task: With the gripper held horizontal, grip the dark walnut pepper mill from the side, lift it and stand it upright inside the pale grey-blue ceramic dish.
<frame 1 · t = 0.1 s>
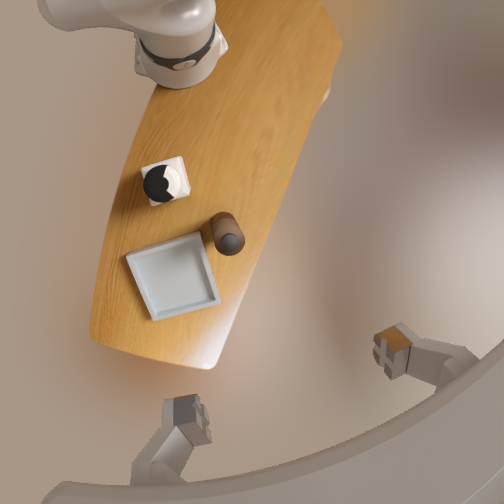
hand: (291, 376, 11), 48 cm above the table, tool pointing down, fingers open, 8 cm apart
walnut pepper mill: (223, 224, 58), on the table
pale dish: (175, 276, 59), on the table
medicine bottle: (169, 178, 53), on the table
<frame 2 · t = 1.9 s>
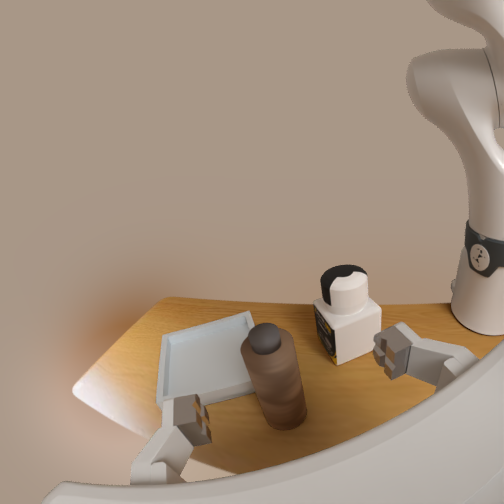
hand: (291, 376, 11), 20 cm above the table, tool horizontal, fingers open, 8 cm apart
walnut pepper mill: (286, 413, 30), on the table
pale dish: (212, 364, 41), on the table
medicine bottle: (348, 343, 38), on the table
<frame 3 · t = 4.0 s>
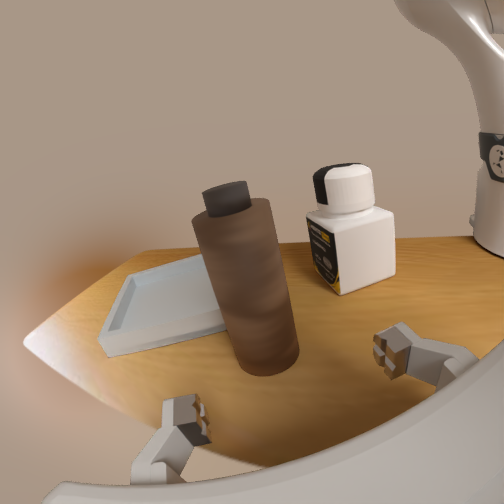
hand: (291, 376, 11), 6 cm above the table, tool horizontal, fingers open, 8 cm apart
walnut pepper mill: (268, 353, 22), on the table
pale dish: (180, 302, 33), on the table
medicine bottle: (353, 274, 31), on the table
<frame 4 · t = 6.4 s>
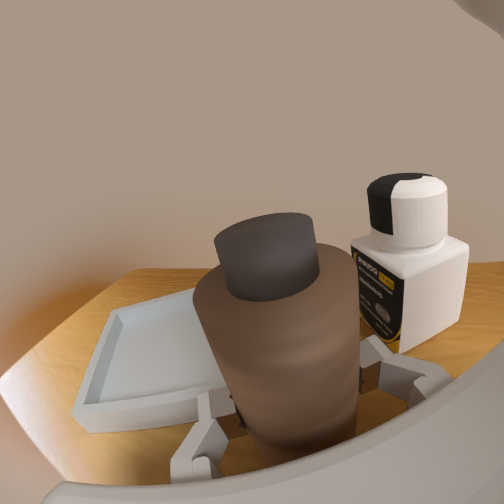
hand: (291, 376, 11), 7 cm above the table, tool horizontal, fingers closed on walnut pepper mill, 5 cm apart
walnut pepper mill: (309, 454, 13), on the table, touching gripper
pale dish: (178, 356, 24), on the table
medicine bottle: (406, 319, 21), on the table
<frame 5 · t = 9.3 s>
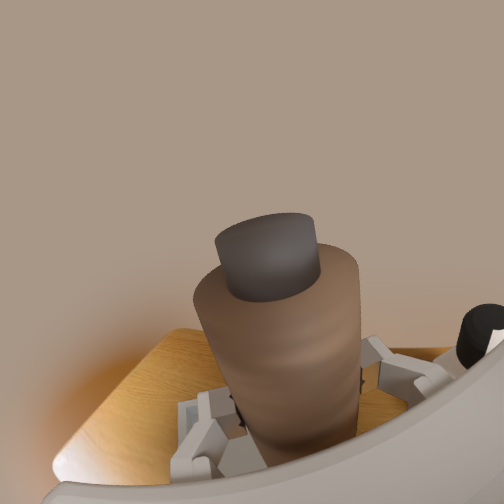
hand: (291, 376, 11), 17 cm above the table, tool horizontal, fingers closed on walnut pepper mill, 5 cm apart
walnut pepper mill: (310, 455, 13), point 10 cm above the table, touching gripper
pale dish: (264, 455, 22), on the table
medicine bottle: (459, 409, 19), on the table
when the fingers open (9 cm above the table, at t = 12.2 s): walnut pepper mill drops 1 cm, resting on pale dish.
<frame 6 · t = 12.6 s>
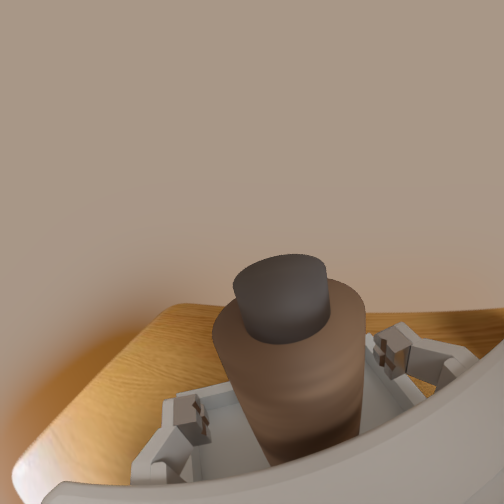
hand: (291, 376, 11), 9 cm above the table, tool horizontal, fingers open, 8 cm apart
walnut pepper mill: (314, 462, 13), point 1 cm above the table, touching pale dish
pale dish: (312, 467, 14), on the table
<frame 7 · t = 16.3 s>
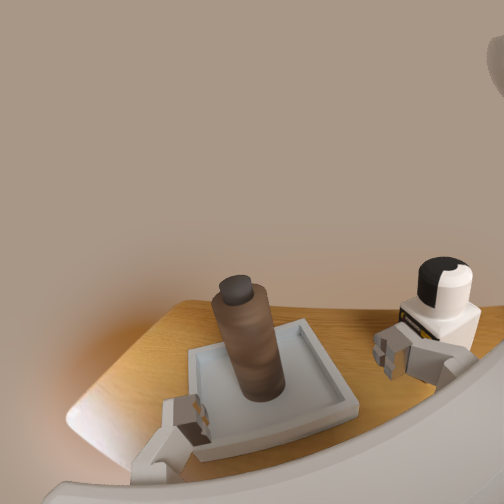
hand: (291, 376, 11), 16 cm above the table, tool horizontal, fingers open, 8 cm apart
walnut pepper mill: (263, 385, 29), point 1 cm above the table, touching pale dish
pale dish: (263, 390, 30), on the table
medicine bottle: (431, 355, 27), on the table
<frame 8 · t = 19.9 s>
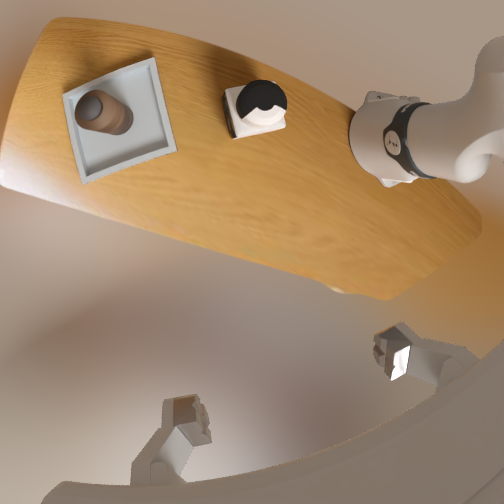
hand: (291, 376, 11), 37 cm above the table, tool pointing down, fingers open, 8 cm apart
walnut pepper mill: (118, 120, 37), point 1 cm above the table, touching pale dish
pale dish: (118, 120, 38), on the table
medicine bottle: (247, 114, 41), on the table
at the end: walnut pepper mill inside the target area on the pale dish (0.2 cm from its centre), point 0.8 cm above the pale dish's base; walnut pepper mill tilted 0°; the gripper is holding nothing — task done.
